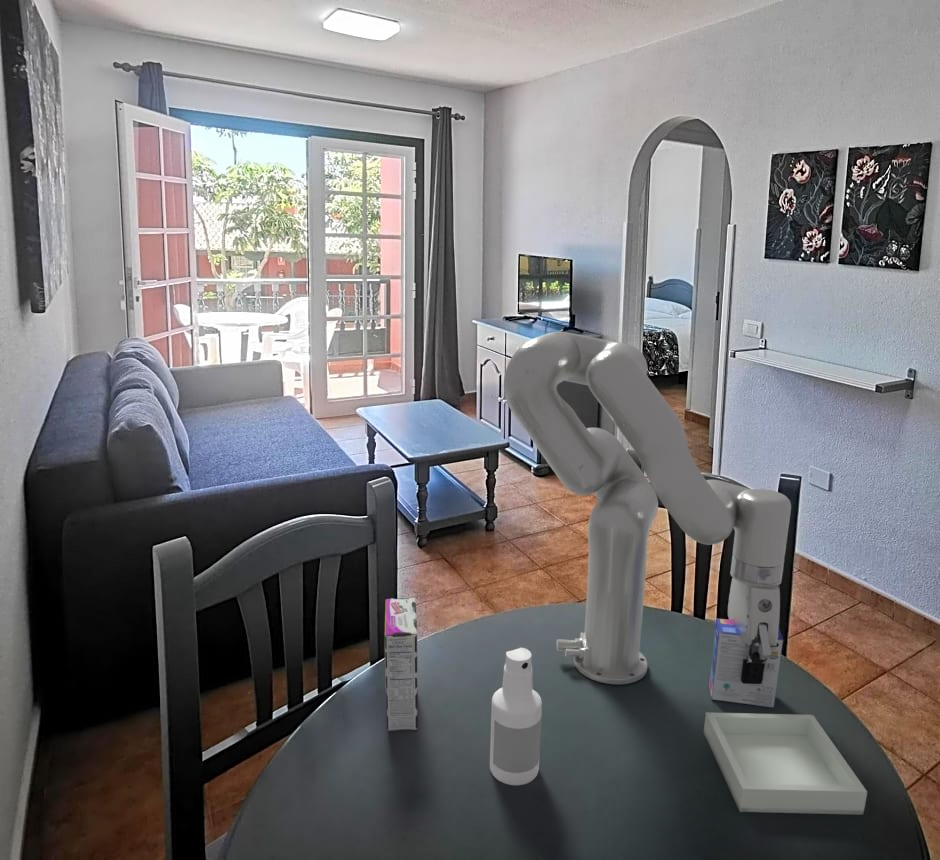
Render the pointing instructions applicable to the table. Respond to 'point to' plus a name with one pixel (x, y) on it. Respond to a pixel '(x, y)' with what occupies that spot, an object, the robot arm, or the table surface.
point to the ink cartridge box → (729, 668)
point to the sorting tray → (782, 764)
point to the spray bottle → (516, 722)
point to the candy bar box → (401, 664)
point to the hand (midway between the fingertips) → (743, 669)
